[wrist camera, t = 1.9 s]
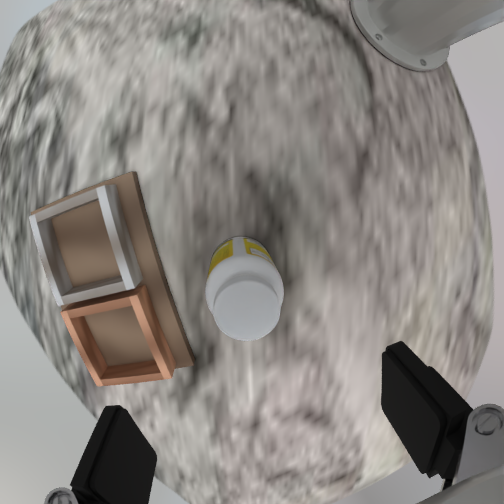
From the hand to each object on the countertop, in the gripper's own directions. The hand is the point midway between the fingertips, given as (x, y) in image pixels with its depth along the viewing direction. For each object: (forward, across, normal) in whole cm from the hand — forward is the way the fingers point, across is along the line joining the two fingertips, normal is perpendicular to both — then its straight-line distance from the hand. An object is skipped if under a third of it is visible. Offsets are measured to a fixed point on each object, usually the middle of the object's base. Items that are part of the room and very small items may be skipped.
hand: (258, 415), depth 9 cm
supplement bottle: (+18, 0, 0) cm, 18 cm away
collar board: (+18, +13, -1) cm, 22 cm away
